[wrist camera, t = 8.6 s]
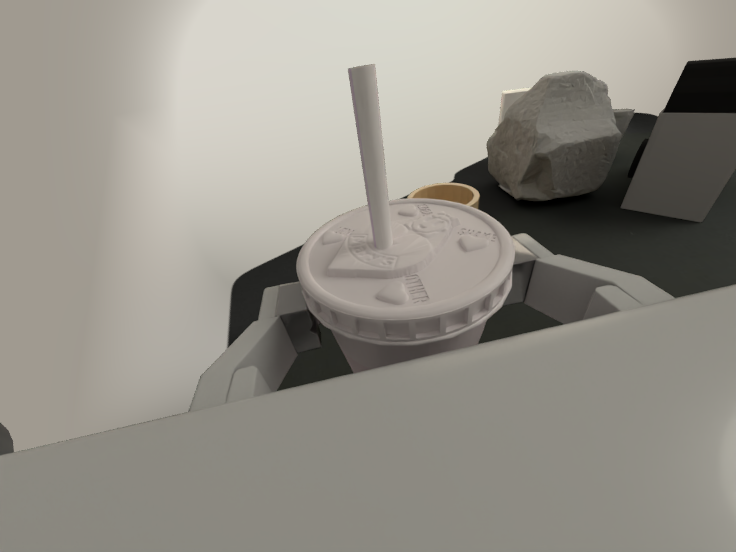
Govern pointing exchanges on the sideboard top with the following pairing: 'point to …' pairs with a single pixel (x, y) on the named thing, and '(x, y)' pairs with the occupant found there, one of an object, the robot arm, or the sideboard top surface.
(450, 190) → the tan hollow round container
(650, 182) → the decorative object
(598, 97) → the stone
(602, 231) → the sideboard top surface
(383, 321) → the smoothie
